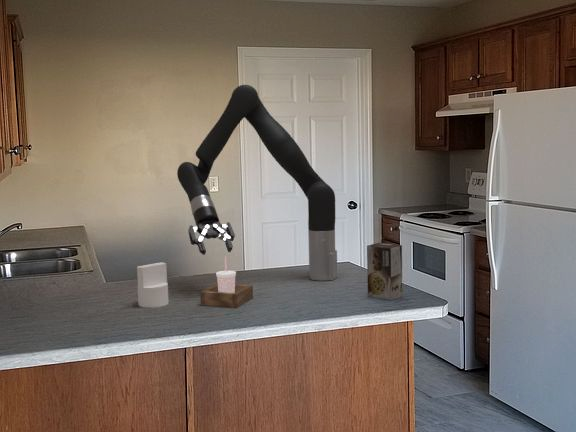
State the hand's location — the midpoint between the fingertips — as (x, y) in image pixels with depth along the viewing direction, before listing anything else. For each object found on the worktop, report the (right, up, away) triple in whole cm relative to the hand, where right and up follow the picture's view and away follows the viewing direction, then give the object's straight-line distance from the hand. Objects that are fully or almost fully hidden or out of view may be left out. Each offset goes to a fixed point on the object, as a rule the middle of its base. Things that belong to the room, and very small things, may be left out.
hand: (217, 251), depth 206 cm
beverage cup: (+3, -15, -5) cm, 16 cm away
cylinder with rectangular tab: (-19, -16, -5) cm, 25 cm away
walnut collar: (+4, -15, -5) cm, 16 cm away
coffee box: (+52, -14, -3) cm, 54 cm away
